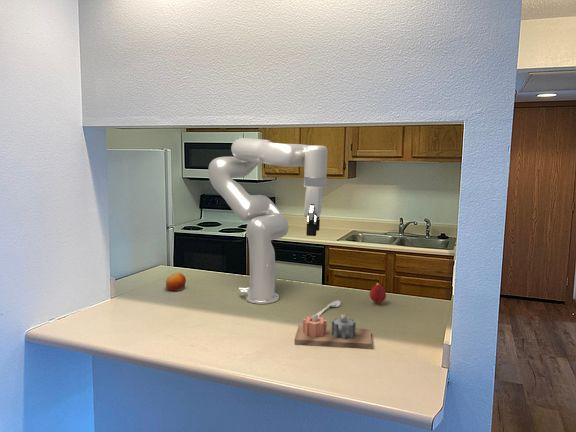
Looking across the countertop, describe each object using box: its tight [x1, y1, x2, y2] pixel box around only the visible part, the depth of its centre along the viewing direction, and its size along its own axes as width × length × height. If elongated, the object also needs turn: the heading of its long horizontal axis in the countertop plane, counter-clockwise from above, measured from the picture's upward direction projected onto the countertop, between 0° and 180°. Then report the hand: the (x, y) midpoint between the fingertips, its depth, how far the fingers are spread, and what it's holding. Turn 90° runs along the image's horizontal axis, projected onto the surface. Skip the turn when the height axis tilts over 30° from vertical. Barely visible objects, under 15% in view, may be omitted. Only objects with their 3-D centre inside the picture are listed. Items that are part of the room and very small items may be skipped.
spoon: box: [314, 300, 342, 317], centre depth 159 cm, size 4×21×2 cm, turn 145°
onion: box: [369, 282, 387, 305], centre depth 165 cm, size 6×6×8 cm
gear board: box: [293, 313, 373, 350], centre depth 134 cm, size 22×11×8 cm, turn 82°
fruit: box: [165, 272, 187, 292], centre depth 183 cm, size 8×8×8 cm
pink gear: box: [302, 316, 328, 337], centre depth 135 cm, size 7×7×4 cm
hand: (313, 233), depth 153 cm, fingers open, 9 cm apart
